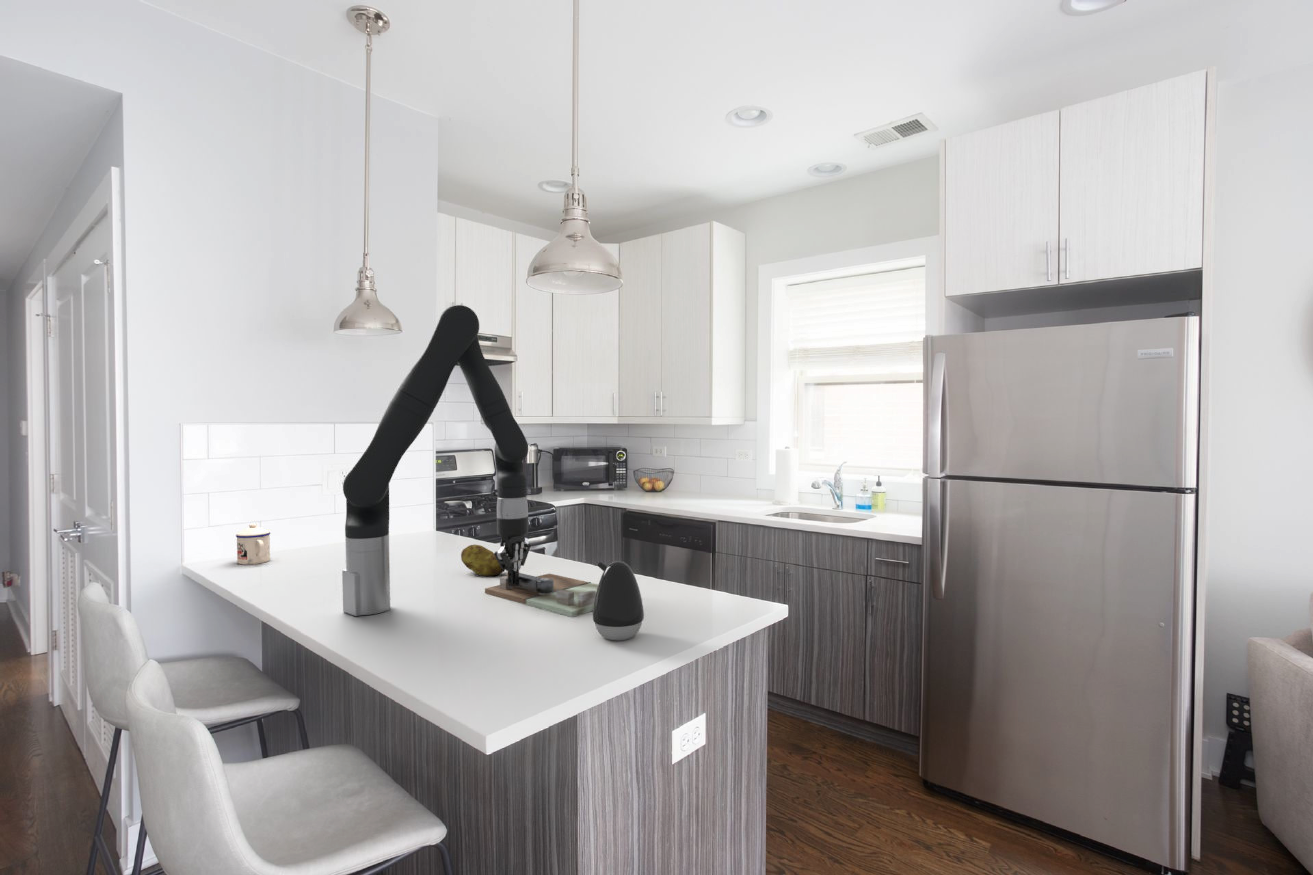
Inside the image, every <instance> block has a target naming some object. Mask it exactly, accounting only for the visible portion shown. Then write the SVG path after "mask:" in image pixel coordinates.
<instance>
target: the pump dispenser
mask: <svg viewBox="0 0 1313 875" xmlns="http://www.w3.org/2000/svg"><path fill="white" fill-rule="evenodd" d="M597 567H598V568H599V569H601V570H602V571H603V572H602V574H601V576H600V579H599V582H598V584H599V585H598V588H597V591H596V596H595V601H594V608H593V611H592V620H593V623H594V626H595V629H596V630H597V632H598V634H599V635H601V637H603V638H604V639H606V640H609V641H614V642H615V641H617V642H618V641H619V642H621V641H626V640H629V639H631V638H633V637H634V636H636V635H637V634H638V633H639V631H640V629H641V626H642V624H643V621H644V616H645V613H644V604H643V599H642V594H641V591H640V587H639V585H638V581H637V578H636V575H635V573H634V572H633V570H632V568H631V566H629V565H628V564H627V563H625V562H624V561H619V560H615V561H613V562H610V563H609V564H608V565H607V564H605V563H604V562H602V561H599V562H598V563H597Z"/></svg>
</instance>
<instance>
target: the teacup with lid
mask: <svg viewBox="0 0 1313 875" xmlns="http://www.w3.org/2000/svg"><path fill="white" fill-rule="evenodd" d="M270 535H271V531H270V530H269V529H264V528H263V527H261V526H260V527H259V526H258V525H257V523H250V524H249V527H247V528H246V527H245V528H244V529H243V530H241V531H239V532H237V533H236V534H235V537H236V549H237V550H236V555H237V556H236V557H237V563H238V564H239V565H246V566H247V565H259V564H263V563H267V562H269V561H270V560H271V551H270V550H271V546H270V545H271V544H270Z"/></svg>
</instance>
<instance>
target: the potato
mask: <svg viewBox="0 0 1313 875" xmlns="http://www.w3.org/2000/svg"><path fill="white" fill-rule="evenodd" d="M494 553H495V552H493V551H491V550H490V549H488V548H486V547H485V546H483V545H480V544H470V545H468V546H466V547H464V548H463V549H462V551H461V553H460V559H461V562H462V564H464V566H465V567H466V568H467V569H469V570H470V571H472V572H473V573H474V574H476V575H479V576H484V577H489V576H490V577H491V576H495V575H496V576H498V575H500V574H502V573H503V572H505V571H506V570H503V569H502V568H501V566H500V565H499V563H498V561H497V559H496V557H495V555H494ZM505 565H506V564H505Z"/></svg>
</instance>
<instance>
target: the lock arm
mask: <svg viewBox="0 0 1313 875" xmlns="http://www.w3.org/2000/svg"><path fill="white" fill-rule="evenodd" d="M506 576H508V572H507V575H506ZM516 586H520V587H523V588H527V589H531V590H535V591H537V592H538V593H550V592H553V591H554V583H553V579H548V578H540V577H536V575H535V576H534V575H530V574H526V573H522V572H519V584H518V585H516Z"/></svg>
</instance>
